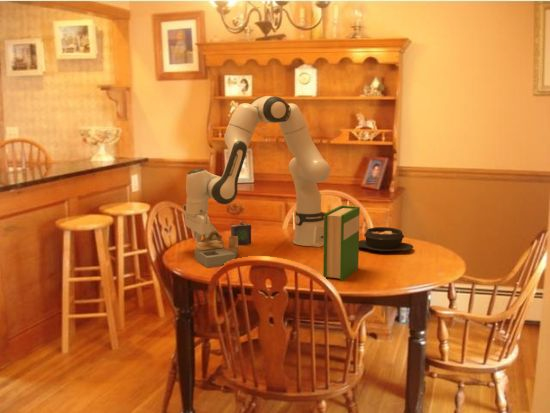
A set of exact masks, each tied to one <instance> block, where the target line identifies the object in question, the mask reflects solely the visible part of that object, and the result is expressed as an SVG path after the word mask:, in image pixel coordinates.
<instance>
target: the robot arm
mask: <svg viewBox="0 0 550 413" xmlns="http://www.w3.org/2000/svg"><path fill="white" fill-rule="evenodd" d="M259 123H265V124H270V123H274V124H275V123H276V124H278V125H279V126H280V129H281V132H282V133H281V134H282V135H283V137H284V141H285V143H286V146H287V149H288V150H289V153H290V154H292V155H293V158H291V160H290V161H289V163H288V171H289V173H290V175H291V177H292V181H293V184H294V189H295V195H296V197H295V199H296V201H295V202H296V203H295V204H296V205H295V206H296V211H295V215H294V216H295V220H294V221H295V228H294V229H295V230H294V235H293V241H292V243H293V244H295V245H297V246H303V247H316V248H321V247H324V213H326V212H324V211H322V193H321V192H320V190H319V188H318V184H319V183H323V182H326V181H327V180H328V179H329V178H330V176H331V166H330V164H329V162H327V161H326V160H325V159H324V157H323V156H322V154H321V153H320V151H319V150H318V148H317V146H316V145H315V143H314V141H313V138H312V135H311V134H310V131H309V127H308V125H307V122H306V119H305V117H304V115H303V113H302V111H301V109H300V108H299V106H298V105H297V104H296V103H292V102H291V103H287V102H286V101H285V99H283V98H282V97H279V96H275V95H274V96H273V95H265V96H259V97H257V98H255V99H253V100H252V101H251V102H250V103H246V102H245V103H244V102H243V103H240V104H238V106H237V107H236V109H235V110H234V112H233V114H232V116H231V117H230V120H229V122H228V125H227V127H226V130H225V132H224V133H225V134H224V138H223V140H224V144H225V146H226V147H227V150H228V157H227V162H226V164H225V167H224V170H223V173H222V175H221V176H220V175H216V174H213V173H211V172H209V171H208V170H206V169H205V168H195V169H192V170H190V171H188V172H187V174H186V178H185V194H186V200H185V202H186V203H185V204H183V207H182V209H183V211H184V213H183V214H184V224H185V226H186V227H187V228H188V229H190V230H192V232H193V235H194V236H193V237H194V241H195V242H201V240H202V237H203V235H209V234H210V232H211V230H210V224H211V221H210V220H211V219H210V217H209V215H208V213H209V199H213V200H215V201H216V203H218V204H221V205H228V204H231V203H232V202H234V201H235V199H236V197H237V195H238V181H239V179H240V178H239V177H240V175H241V172H242V168H243V165H244V162H245V159H246V155H247V153H248V149H249V146H250V143H251V141H252V139H253V136H254V133H255V130H256V128H257V126H258V125H259ZM317 183H318V184H317Z"/></svg>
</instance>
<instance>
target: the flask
mask: <svg viewBox="0 0 550 413" xmlns="http://www.w3.org/2000/svg"><path fill="white" fill-rule="evenodd" d="M230 236H237V237H238V246H245V245H247V246H248V245H252V225H251V224H250V223H244V222H242V220H239V221H238V224H233V225H230Z"/></svg>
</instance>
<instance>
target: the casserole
mask: <svg viewBox="0 0 550 413" xmlns="http://www.w3.org/2000/svg"><path fill="white" fill-rule="evenodd" d="M363 236H364V237H365V239H359V248H362V249H367V250H369V251H372V252H376V253H385V254H387V253H388V254H389V253H394V252H401V251H402V252H408V251H410V250H412V249H414V246H413V245H412V244H411V243H407V242H403V239H404V238H405V235H404V234H403V231H402V230H401V229H398V228H394V227H387V226H385V227H381V226H378V227H376V226H375V227H370V228H367V229H366V232H365V233H364V234H363Z"/></svg>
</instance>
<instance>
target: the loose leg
mask: <svg viewBox="0 0 550 413" xmlns="http://www.w3.org/2000/svg"><path fill="white" fill-rule="evenodd" d="M228 250H230V251H232V252H233V253H235V254H236V257H238V256H239V245H238V237H237V236H231V235H229V236H228Z"/></svg>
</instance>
